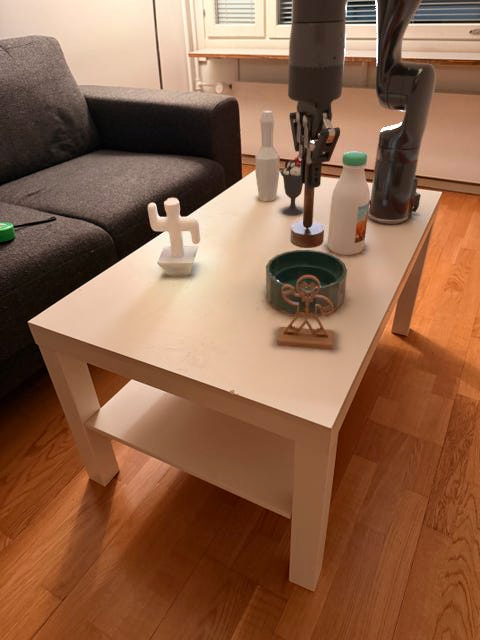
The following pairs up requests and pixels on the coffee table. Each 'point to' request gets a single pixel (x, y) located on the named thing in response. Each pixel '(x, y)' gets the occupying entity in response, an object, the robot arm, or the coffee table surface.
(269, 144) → the low poly bottle
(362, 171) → the milk bottle
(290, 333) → the gingerbread man figurine
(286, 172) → the sundae
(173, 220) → the figurine
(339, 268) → the bowl
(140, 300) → the coffee table surface
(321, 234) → the wooden peg stand
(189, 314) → the coffee table surface
